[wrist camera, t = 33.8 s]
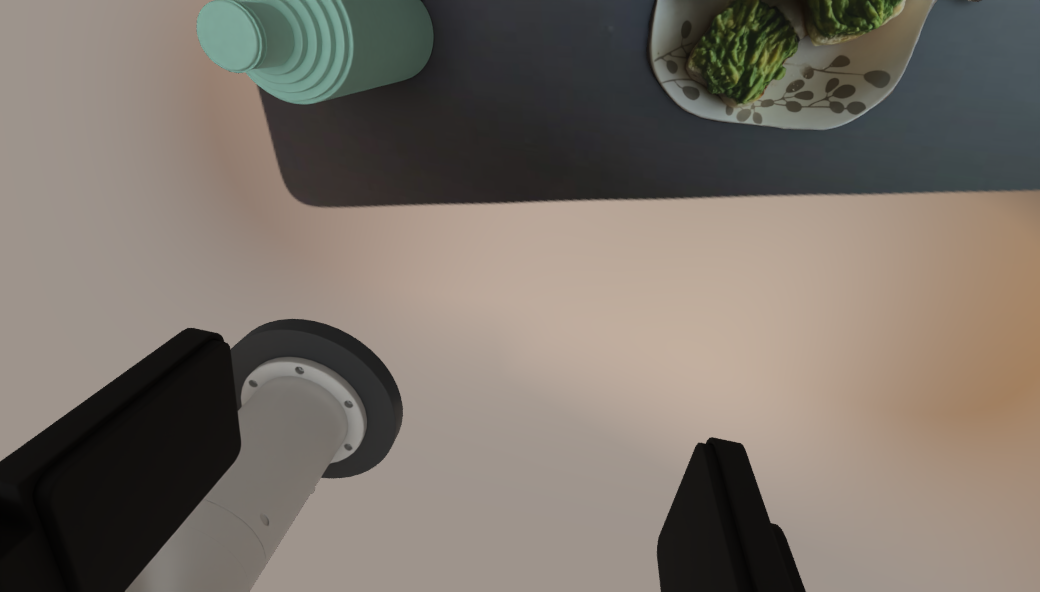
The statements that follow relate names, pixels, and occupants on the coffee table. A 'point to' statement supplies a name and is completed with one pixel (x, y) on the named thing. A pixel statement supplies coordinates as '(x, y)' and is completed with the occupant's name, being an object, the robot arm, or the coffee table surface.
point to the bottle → (317, 44)
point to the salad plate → (782, 57)
